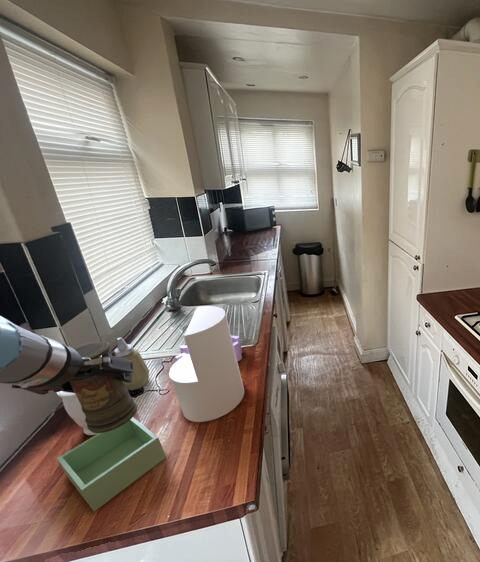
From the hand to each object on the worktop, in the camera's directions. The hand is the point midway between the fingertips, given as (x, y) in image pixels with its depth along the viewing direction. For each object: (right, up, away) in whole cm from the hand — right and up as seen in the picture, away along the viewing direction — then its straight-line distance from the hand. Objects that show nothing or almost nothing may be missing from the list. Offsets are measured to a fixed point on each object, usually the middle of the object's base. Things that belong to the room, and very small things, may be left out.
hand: (107, 381), depth 70 cm
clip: (+2, -7, +43) cm, 43 cm away
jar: (-16, -18, +17) cm, 30 cm away
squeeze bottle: (-18, -12, +32) cm, 39 cm away
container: (+2, -8, 0) cm, 8 cm away
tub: (-1, -22, +4) cm, 23 cm away
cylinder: (+12, -14, +25) cm, 31 cm away
